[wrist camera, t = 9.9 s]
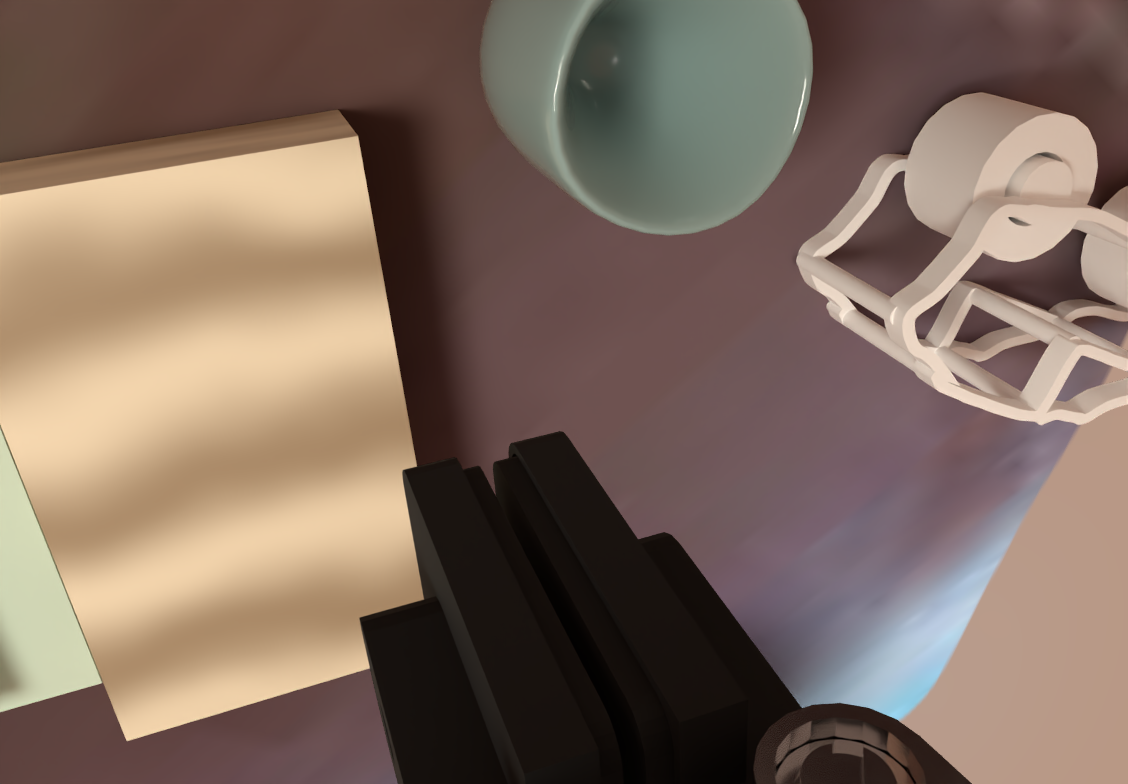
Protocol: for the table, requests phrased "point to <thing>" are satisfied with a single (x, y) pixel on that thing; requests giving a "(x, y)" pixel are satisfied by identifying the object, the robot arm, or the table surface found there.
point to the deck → (208, 408)
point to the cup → (650, 101)
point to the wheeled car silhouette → (990, 254)
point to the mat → (34, 606)
